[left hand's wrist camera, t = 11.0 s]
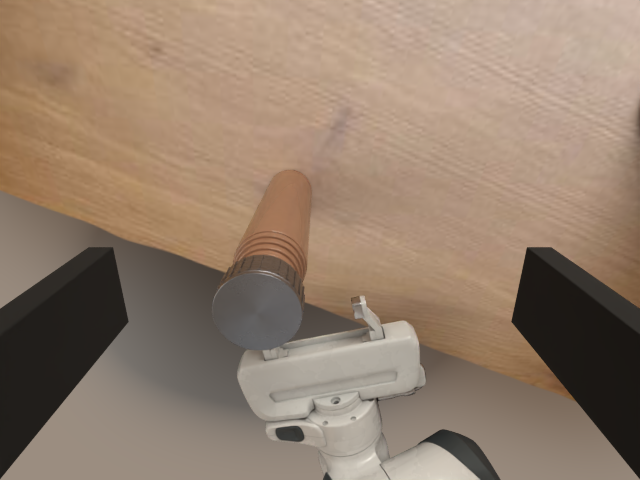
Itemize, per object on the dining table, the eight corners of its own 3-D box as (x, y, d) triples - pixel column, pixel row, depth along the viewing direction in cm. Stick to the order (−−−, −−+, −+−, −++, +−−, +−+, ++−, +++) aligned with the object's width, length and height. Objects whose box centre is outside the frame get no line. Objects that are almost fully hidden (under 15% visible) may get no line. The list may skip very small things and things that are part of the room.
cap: (215, 255, 21) (204, 274, 19) (302, 251, 21) (300, 270, 19) (227, 328, 23) (218, 353, 21) (307, 325, 23) (305, 350, 21)
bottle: (266, 170, 42) (205, 270, 19) (310, 168, 42) (301, 266, 19) (270, 213, 44) (219, 348, 21) (313, 211, 44) (306, 345, 21)
